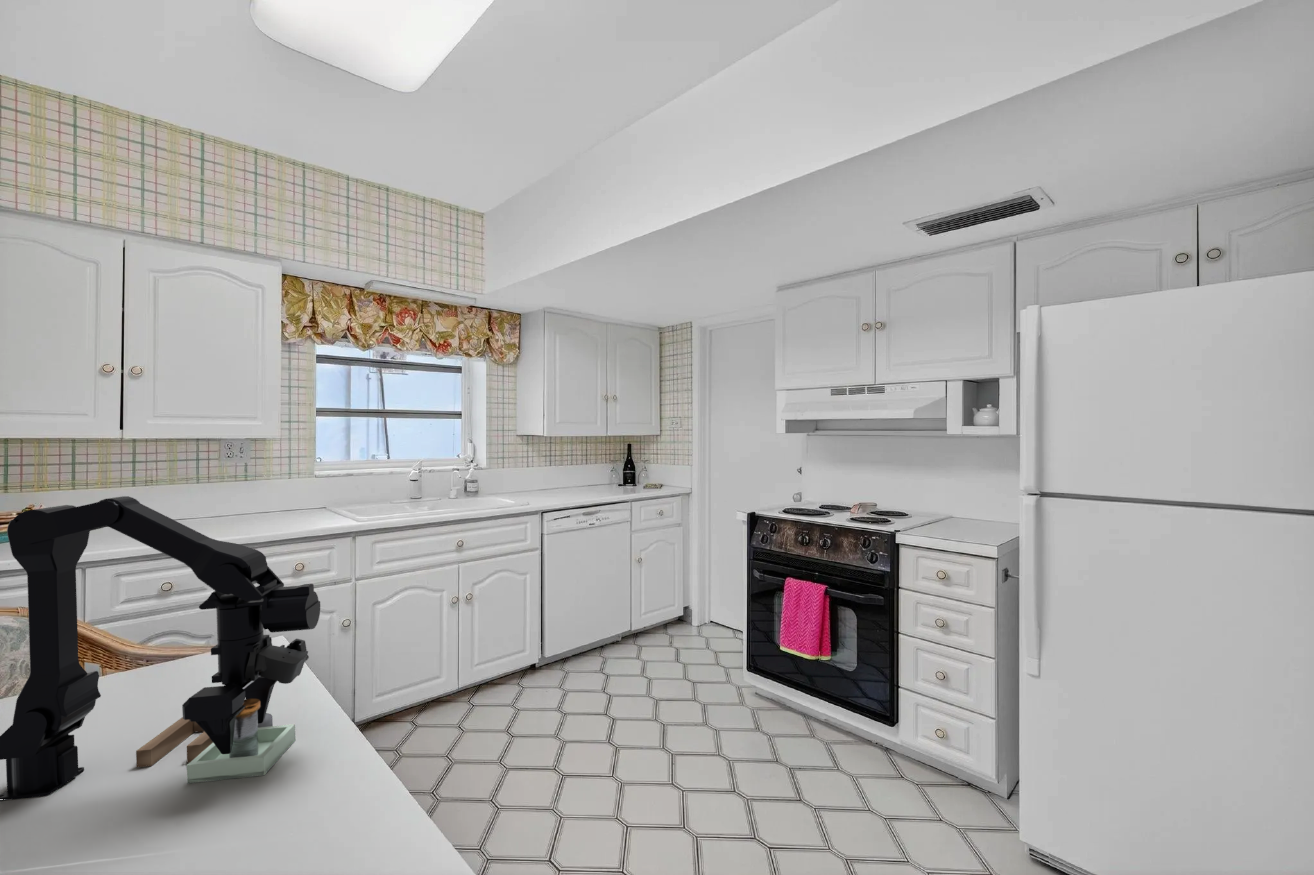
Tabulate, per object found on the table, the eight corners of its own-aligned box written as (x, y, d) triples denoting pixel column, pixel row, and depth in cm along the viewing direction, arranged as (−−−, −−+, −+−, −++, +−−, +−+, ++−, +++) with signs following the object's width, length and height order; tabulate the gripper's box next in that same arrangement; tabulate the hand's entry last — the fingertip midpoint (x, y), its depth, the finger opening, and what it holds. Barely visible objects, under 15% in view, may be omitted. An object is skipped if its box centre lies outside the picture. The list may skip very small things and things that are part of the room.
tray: (187, 783, 84) (186, 765, 84) (227, 746, 94) (226, 730, 94) (264, 775, 85) (263, 757, 85) (295, 740, 95) (295, 724, 95)
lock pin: (219, 765, 87) (217, 712, 87) (237, 750, 91) (236, 699, 91) (251, 763, 87) (249, 710, 87) (267, 747, 92) (266, 697, 92)
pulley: (220, 747, 93) (219, 727, 93) (240, 729, 99) (240, 710, 99) (261, 743, 94) (261, 723, 94) (279, 725, 100) (279, 706, 100)
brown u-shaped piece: (136, 767, 88) (136, 750, 88) (186, 729, 100) (186, 714, 100) (201, 760, 90) (201, 744, 90) (243, 723, 101) (242, 709, 101)
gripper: (268, 652, 81) (271, 765, 81) (323, 612, 100) (325, 704, 100) (178, 659, 80) (181, 774, 80) (250, 617, 98) (253, 711, 98)
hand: (243, 737), depth 89 cm, fingers open, 9 cm apart
